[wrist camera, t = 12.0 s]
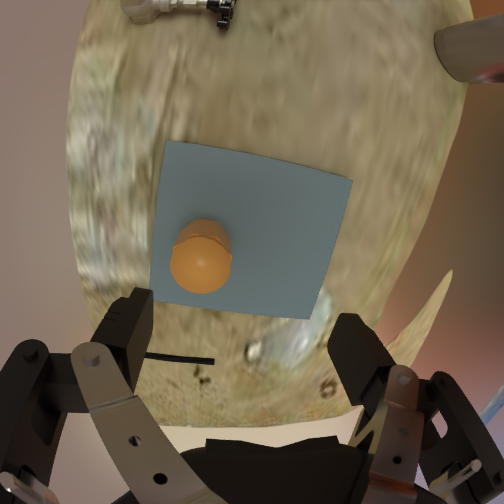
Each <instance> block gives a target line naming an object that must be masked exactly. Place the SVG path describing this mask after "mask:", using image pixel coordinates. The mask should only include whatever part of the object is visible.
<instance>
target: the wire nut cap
mask: <svg viewBox="0 0 504 504" xmlns="http://www.w3.org/2000/svg"><path fill="white" fill-rule="evenodd" d="M231 260H232V253H231V244H230V237H229V236H228V235H227V233H226V232H225V230H224V229H223V228H222V226H221V225H220V224H219V222H217V221H212V220H206V219H199V218H198V219H196V220H194V221H193V222H191V223H190V224H189V225H187V226H186V227H184V228H183V229H182V230H181V231H180V233H179V236H178V238H177V240H176V242H175V244H174V247H173V253H172V257H171V262H170V268H171V273H172V275H173V277H174V279H175V281H176V282H177V283H178V284H179V285H180V286H181V287H182V288H184V289H185V290H187V291H190V292H193V293H199V294H204V293H210V292H213V291H215V290H217V289H219V288H220V287H221V286H222V285H223V284H224V283H225V282H226V281H227V279H228V277H229V274H230V269H231Z"/></svg>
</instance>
